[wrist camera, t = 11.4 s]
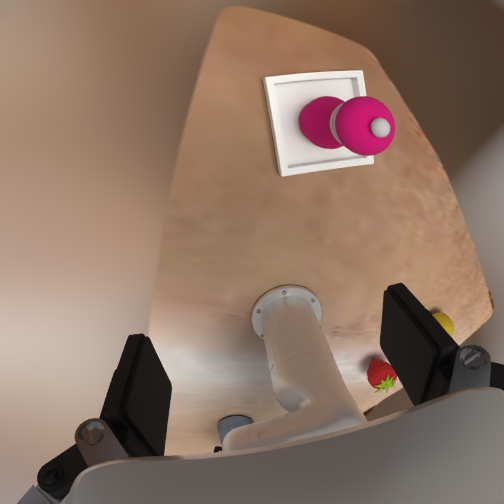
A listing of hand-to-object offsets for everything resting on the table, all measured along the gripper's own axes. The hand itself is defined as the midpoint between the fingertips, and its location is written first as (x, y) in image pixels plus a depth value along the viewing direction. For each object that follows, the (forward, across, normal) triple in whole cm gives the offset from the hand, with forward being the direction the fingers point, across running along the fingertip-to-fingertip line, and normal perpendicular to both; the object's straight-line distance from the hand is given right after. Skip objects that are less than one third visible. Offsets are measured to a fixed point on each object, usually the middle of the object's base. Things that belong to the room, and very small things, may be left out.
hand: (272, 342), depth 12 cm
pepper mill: (+36, -13, -6) cm, 38 cm away
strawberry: (+36, -22, +44) cm, 61 cm away
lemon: (+36, -36, +36) cm, 63 cm away
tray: (+36, -13, -6) cm, 39 cm away
